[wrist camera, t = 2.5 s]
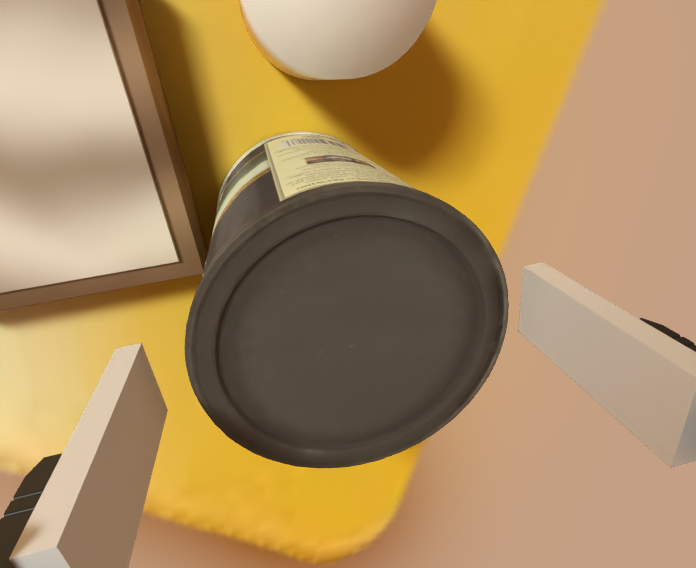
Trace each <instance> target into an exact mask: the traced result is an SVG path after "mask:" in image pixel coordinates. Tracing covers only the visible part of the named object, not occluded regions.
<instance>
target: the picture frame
mask: <svg viewBox="0 0 696 568" xmlns="http://www.w3.org/2000/svg"><path fill="white" fill-rule="evenodd" d="M207 255H208V249H207V246H206V242H205V239H204V235H203V231H202V228H201V224H200V221H199V217H198V213H197V210H196V206H195V203H194V199H193V195H192V192H191V188H190V185H189V181H188V177H187V174H186V170H185V167H184V163H183V159H182V156H181V152H180V149H179V145H178V141H177V138H176V134H175V131H174V127H173V123H172V120H171V116H170V113H169V109H168V105H167V102H166V98H165V95H164V91H163V87H162V84H161V80H160V76H159V73H158V69H157V66H156V62H155V58H154V55H153V51H152V48H151V44H150V40H149V37H148V33H147V30H146V26H145V22H144V19H143V15H142V12H141V8H140V4H139V1H138V0H0V310H5V309H11V308H16V307H22V306H27V305H33V304H39V303H44V302H50V301H55V300H61V299H66V298H72V297H77V296H83V295H88V294H94V293H99V292H105V291H110V290H116V289H121V288H127V287H132V286H138V285H143V284H149V283H154V282H160V281H165V280H171V279H176V278H182V277H187V276H193V275H198V274H203V271H204V266H205V263H206V259H207Z"/></svg>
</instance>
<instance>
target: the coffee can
mask: <svg viewBox="0 0 696 568" xmlns="http://www.w3.org/2000/svg"><path fill="white" fill-rule="evenodd" d="M508 307H509V305H508V290H507V284H506V279H505V275H504V271H503V269H502V266H501V263H500V261H499V258H498V256H497V254H496V253H495V251H494V249H493V247H492V246H491V244H490V242H489V241H488V239H487V238H486V237H485V235H484V234H483V233H482V232H481V230H480V229H479V228H478V227H477V226H476V225H475V224H474V223H473V222H472V221H471V220H470V219H468V218H467V217H466V216H465V215H464V214H462V213H461V212H459V211H458V210H457V209H455V208H454V207H452V206H451V205H449V204H447V203H446V202H444V201H442V200H440V199H438V198H436V197H433V196H431V195H429V194H427V193H424V192H422V191H419V190H416V189H415V188H413V187H412V186H410V185H408V184H407V183H405V182H404V181H402V180H401V179H400V178H398V177H396V176H395V175H393V174H391V173H390V172H388V171H387V170H385V169H384V168H382V167H381V166H379V165H377V164H376V163H374V162H373V161H371V160H369V159H368V158H366V157H364V156H363V155H361V154H360V153H359V152H358V151H357V150H355V149H354V148H353V147H351V146H350V145H348V144H347V143H345V142H343V141H341V140H339V139H337V138H336V137H332V136H329V135H326V134H321V133H316V132H289V133H284V134H280V135H276V136H273V137H271V138H267V139H265V140H263V141H261V142H259V143H258V144H257V145H255V146H253V147H252V148H250V149H249V150H248V151H246V152H245V153H244V154H243V155H242V156H241V157H240V158H239V159H238V160H237V161H236V163H235V164H234V165H233V166H232V168H231V169H230V171H229V172H228V174H227V176H226V178H225V180H224V182H223V184H222V186H221V189H220V191H219V195H218V199H217V208H216V217H215V223H214V228H213V233H212V238H211V242H210V246H209V251H208V255H207V259H206V263H205V266H204V271H203V277H202V279H201V281H200V284H199V286H198V288H197V290H196V293H195V296H194V299H193V302H192V305H191V308H190V312H189V317H188V321H187V325H186V336H185V361H186V367H187V372H188V376H189V379H190V382H191V385H192V388H193V391H194V393H195V395H196V397H197V398H198V401H199V403H200V404H201V406H202V407H203V409H204V410H205V412H206V413H207V414H208V416H209V417H210V418H211V420H212V421H213V422H214V424H215V425H216V426H218V427H219V428H220V429H221V430H222V431H223V432H224V433H225V434H226V435H227V436H228V437H229V438H230V439H232V440H233V441H235V442H236V443H238V444H239V445H241V446H242V447H244V448H246V449H247V450H249V451H251V452H253V453H255V454H257V455H260V456H262V457H264V458H267V459H270V460H273V461H277V462H281V463H284V464H289V465H293V466H299V467H310V468H340V467H350V466H356V465H361V464H365V463H369V462H374V461H377V460H381V459H384V458H386V457H389V456H392V455H394V454H397V453H399V452H402V451H404V450H406V449H408V448H410V447H412V446H414V445H416V444H418V443H420V442H422V441H423V440H425V439H426V438H428V437H430V436H431V435H433V434H434V433H436V432H437V431H438V430H440V429H441V428H442V427H444V426H445V425H446V424H448V423H449V422H450V421H451V420H452V419H454V418H455V417H456V416H457V415H458V414H459V413H460V412H461V411H462V410H463V409H464V408H465V407H466V406H467V405H468V404H469V402H470V401H471V400H472V399H473V398H474V396H475V395H476V394H477V392H478V391H479V390H480V388H481V387H482V385H483V384H484V382H485V381H486V379H487V378H488V377H489V375H490V372H491V371H492V369H493V367H494V365H495V363H496V360H497V358H498V355H499V353H500V350H501V347H502V344H503V341H504V337H505V333H506V328H507V321H508Z"/></svg>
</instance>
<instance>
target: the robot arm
mask: <svg viewBox="0 0 696 568" xmlns="http://www.w3.org/2000/svg"><path fill="white" fill-rule="evenodd" d="M518 332H520V333H521V334H522V335H523V336H524V337H525V338H526V339H527V340H529V341H530V342H531V343H532V344H533V345H534V346H535V347H537V348H538V349H539V350H540V351H541V352H542V353H543V354H544V355H545V356H546V357H548V358H549V359H550V360H551V361H552V362H553V363H554V364H555V365H557V366H558V367H559V368H560V369H561V370H562V371H563V372H564V373H566V374H567V375H568V376H569V377H570V378H571V379H572V380H573V381H574V382H576V383H577V384H578V385H579V386H580V387H581V388H583V390H585V391H586V392H587V393H588V394H589V395H590V396H591V397H592V398H593V399H595V400H596V401H597V402H598V403H599V404H600V405H601V406H602V407H604V408H605V409H606V410H607V411H608V412H609V413H610V414H611V415H612V416H614V417H615V418H616V419H617V420H618V421H619V422H620V423H621V424H622V425H624V426H625V427H626V428H627V429H628V430H629V431H630V432H632V433H633V434H634V435H635V436H636V437H637V438H638V439H639V440H640V441H642V442H643V443H644V444H645V445H646V446H647V447H648V448H649V449H650V450H652V451H653V452H654V453H655V454H656V455H657V456H658V457H659V458H661V459H662V460H663V461H664V462H665V463H666V464H667V465H668V466H669V467H671V468H672V467H675V466H678V465H682V464H685V463H689V462H692V461H695V460H696V346H695V345H694V343H693V342H691V341H690V340H688V339H686V338H684V337H680V335H679V334H677V333H675V332H674V331H672V330H670V329H669V328H667V327H665V326H663V325H661V324H658V323H655V322H652V321H649V320H646V319H643V318H640V319H638V318H637V317H635V316H633V315H632V314H630V313H628V312H626V311H624V310H623V309H621V308H620V307H618V306H616V305H614V304H613V303H611V302H609V301H608V300H606V299H604V298H603V297H601V296H599V295H597V294H596V293H594V292H592V291H591V290H589V289H587V288H586V287H584V286H582V285H580V284H579V283H577V282H575V281H574V280H572V279H570V278H568V277H566V276H565V275H563V274H562V273H560V272H558V271H557V270H555V269H553V268H551V267H550V266H548V265H546V264H544V263H543V262H542V263H537V264H532V265H527V266H523V276H522V289H521V302H520V314H519V326H518ZM167 411H168V410H167V407H166V405H165V402H164V400H163V397H162V394H161V392H160V389H159V387H158V384H157V382H156V379H155V376H154V374H153V371H152V369H151V366H150V364H149V361H148V358H147V356H146V353H145V351H144V348H143V346H142V343H139V344H135V345H130V346H125V347H120V348H116V349H115V351H114V353H113V355H112V357H111V359H110V361H109V363H108V365H107V367H106V369H105V371H104V373H103V375H102V377H101V379H100V380H99V382H98V384H97V386H96V388H95V390H94V392H93V394H92V396H91V398H90V400H89V402H88V404H87V406H86V408H85V410H84V412H83V414H82V416H81V418H80V420H79V422H78V424H77V426H76V428H75V430H74V432H73V434H72V436H71V438H70V440H69V442H68V443H67V445H66V447H65V449H64V451H63V453H62V454H57V455H53V456H49V457H44V458H43V459H42V460H41V461H40V462H39V463H38V464H37V465H36V466H35V467H34V468H33V469H32V470H31V471H30V472H29V473H28V474H27V475H26V476H25V478H24V480H23V481H22V483H21V485H20V487H19V488H18V490H17V492H16V494H15V495H14V501H11V502H10V504H9V506H8V508H7V509H6V511H5V513H4V518H1V520H0V568H128V567H129V563H130V559H131V555H132V551H133V547H134V543H135V539H136V535H137V531H138V527H139V523H140V519H141V515H142V511H143V507H144V503H145V499H146V495H147V491H148V487H149V483H150V479H151V475H152V471H153V467H154V463H155V459H156V455H157V451H158V447H159V443H160V439H161V435H162V431H163V427H164V423H165V419H166V415H167Z"/></svg>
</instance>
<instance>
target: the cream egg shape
mask: <svg viewBox="0 0 696 568" xmlns="http://www.w3.org/2000/svg"><path fill="white" fill-rule="evenodd" d="M436 1H437V0H239V4H240V10H241V14H242V18H243V22H244V24H245V27H246V30H247V32H248V34H249V36H250V38H251V40H252V41H253V43H254V45H255V46H256V48H257V49H258V50H259V52H260V53H261V54H262V55H263V56H264V57H265V58H266V59H267V60H268V61H269V62H270V63H271V64H272V65H274V66H275V67H276V68H278V69H279V70H281V71H283V72H284V73H286V74H288V75H291V76H293V77H296V78H300V79H306V80H337V79H356V78H361V77H366V76H369V75H371V74H374V73H377V72H379V71H381V70H383V69H385V68H387V67H389V66H390V65H391V64H393V63H394V62H396V61H397V60H398V59H400V58H401V57H402V56H403V55H404V54H405V53H406V52H407V51H408V50H409V49H410V48H411V47H412V45H413V44H414V43H415V42H416V41H417V39H418V38H419V36H420V35H421V33H422V32H423V30H424V28H425V27H426V25H427V23H428V21H429V19H430V17H431V14H432V12H433V9H434V6H435V4H436Z"/></svg>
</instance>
